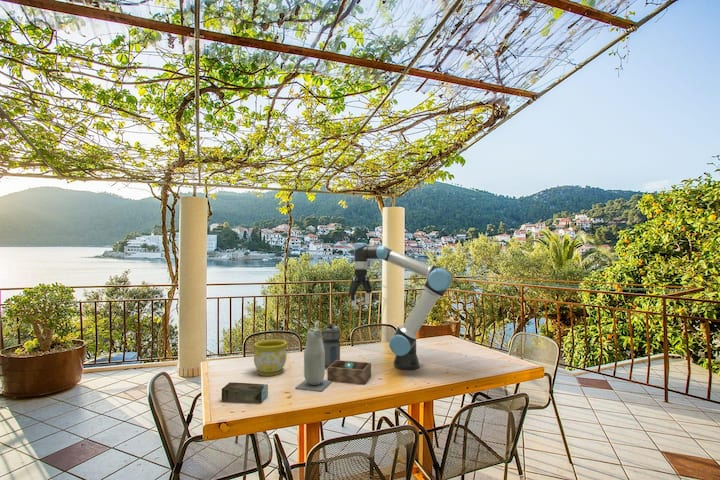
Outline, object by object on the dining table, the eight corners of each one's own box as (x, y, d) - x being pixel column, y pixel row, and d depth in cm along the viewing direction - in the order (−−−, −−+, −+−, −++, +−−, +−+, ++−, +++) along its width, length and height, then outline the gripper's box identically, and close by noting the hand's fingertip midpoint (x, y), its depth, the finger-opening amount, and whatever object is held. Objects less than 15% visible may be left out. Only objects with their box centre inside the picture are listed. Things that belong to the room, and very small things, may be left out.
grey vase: (328, 383, 177) (328, 327, 178) (313, 389, 169) (313, 330, 171) (315, 379, 183) (315, 325, 185) (299, 384, 175) (300, 328, 177)
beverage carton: (261, 404, 153) (262, 388, 154) (220, 402, 155) (220, 387, 156) (268, 397, 161) (268, 382, 162) (228, 395, 163) (229, 381, 164)
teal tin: (354, 374, 190) (354, 362, 191) (352, 377, 186) (352, 365, 186) (346, 373, 192) (346, 362, 192) (343, 376, 187) (343, 364, 187)
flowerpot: (254, 368, 203) (255, 340, 204) (286, 366, 207) (286, 338, 208) (251, 378, 186) (252, 347, 186) (286, 376, 189) (286, 345, 190)
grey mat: (332, 382, 181) (332, 380, 181) (321, 391, 167) (321, 390, 167) (307, 379, 184) (307, 378, 184) (295, 388, 171) (295, 387, 171)
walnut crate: (371, 375, 190) (371, 362, 191) (364, 384, 177) (364, 370, 177) (336, 372, 196) (336, 359, 196) (327, 380, 182) (327, 367, 183)
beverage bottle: (337, 362, 215) (337, 321, 217) (341, 369, 202) (342, 325, 204) (320, 363, 212) (321, 322, 214) (324, 370, 200) (324, 326, 201)
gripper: (367, 268, 219) (367, 302, 218) (342, 269, 199) (342, 306, 198) (377, 268, 215) (377, 303, 213) (353, 269, 194) (353, 307, 193)
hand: (360, 305), depth 205 cm, fingers open, 13 cm apart
